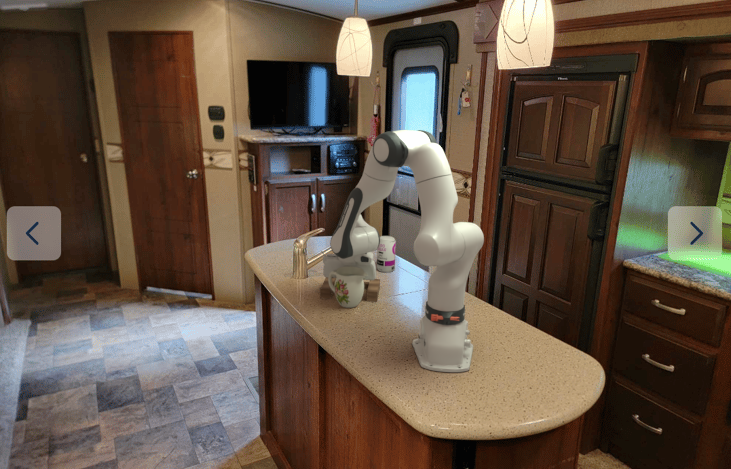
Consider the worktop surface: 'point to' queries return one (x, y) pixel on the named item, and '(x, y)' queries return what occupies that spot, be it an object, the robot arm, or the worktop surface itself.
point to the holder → (371, 288)
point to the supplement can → (386, 254)
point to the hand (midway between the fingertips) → (349, 288)
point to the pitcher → (348, 285)
